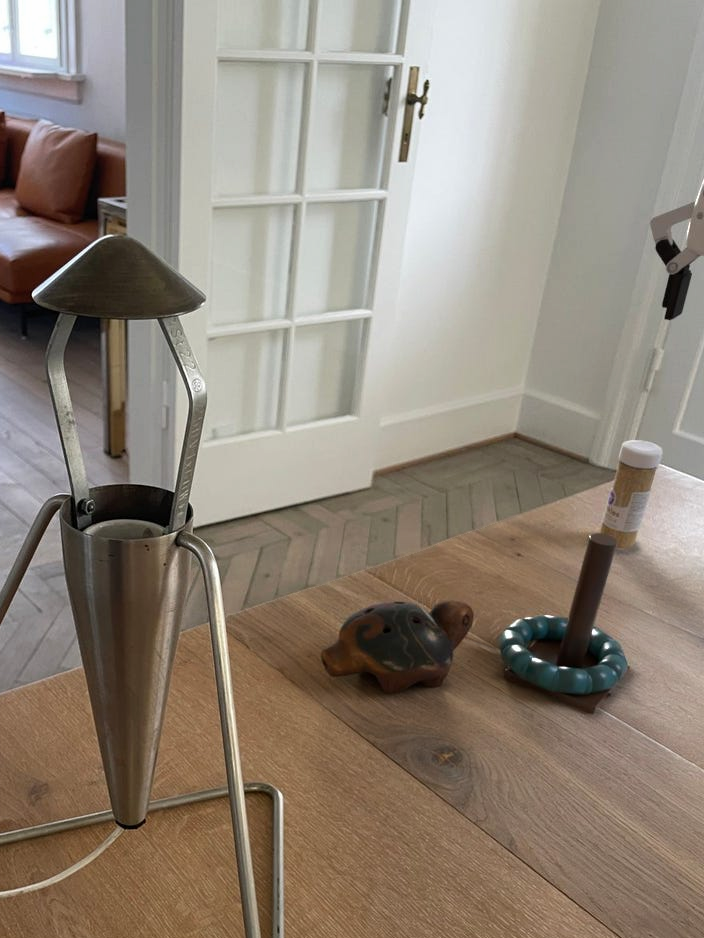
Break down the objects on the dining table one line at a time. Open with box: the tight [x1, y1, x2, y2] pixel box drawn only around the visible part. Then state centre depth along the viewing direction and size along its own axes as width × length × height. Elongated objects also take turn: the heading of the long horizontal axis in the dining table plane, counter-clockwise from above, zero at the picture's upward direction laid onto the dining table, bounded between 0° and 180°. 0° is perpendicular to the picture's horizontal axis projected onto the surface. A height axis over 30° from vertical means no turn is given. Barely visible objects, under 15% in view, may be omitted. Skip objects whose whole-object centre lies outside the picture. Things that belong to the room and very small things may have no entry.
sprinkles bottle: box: [599, 439, 664, 549], centre depth 116 cm, size 5×5×13 cm
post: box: [503, 532, 631, 715], centre depth 91 cm, size 9×9×16 cm
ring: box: [498, 614, 629, 695], centre depth 94 cm, size 12×12×2 cm
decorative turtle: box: [320, 599, 474, 694], centre depth 92 cm, size 10×15×8 cm, turn 112°
